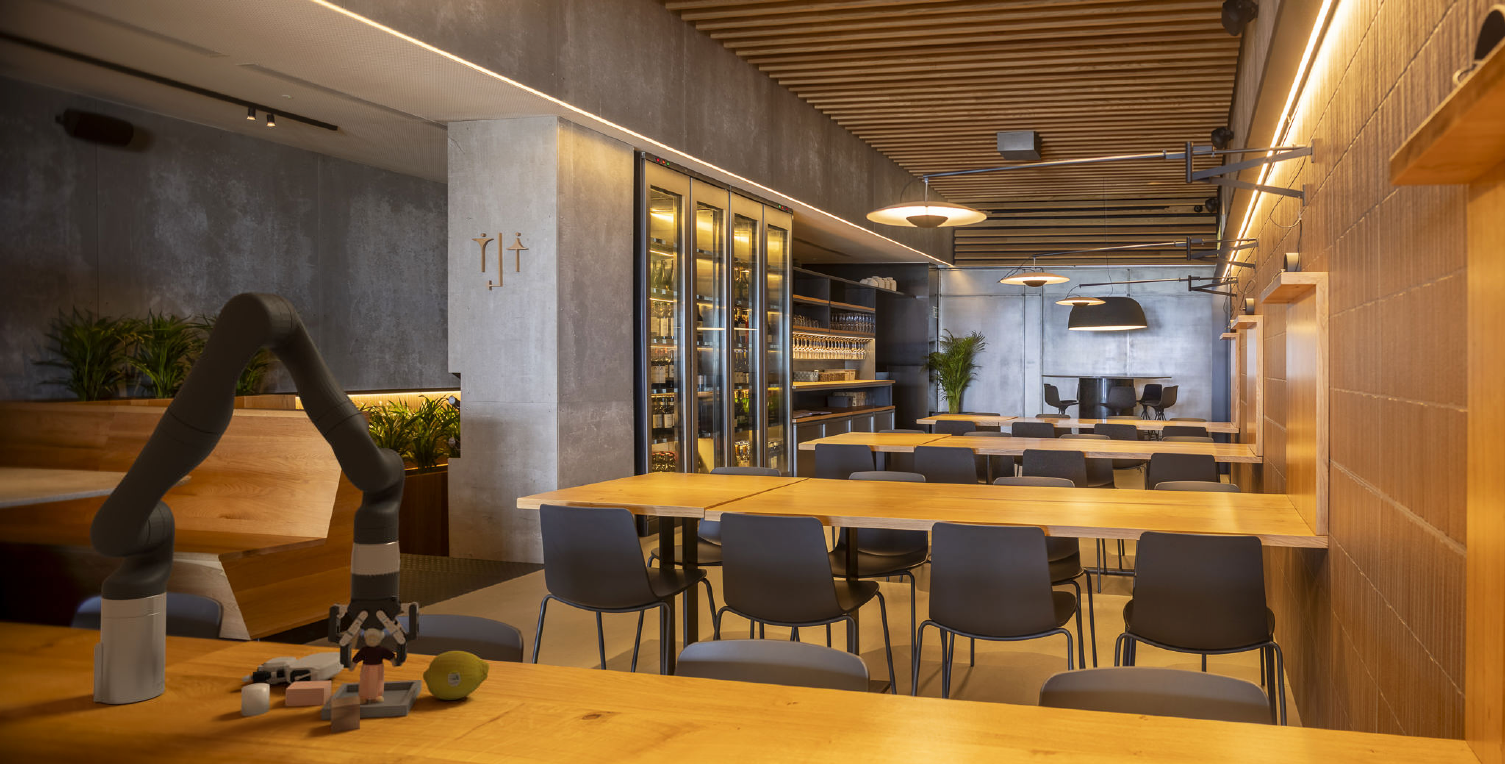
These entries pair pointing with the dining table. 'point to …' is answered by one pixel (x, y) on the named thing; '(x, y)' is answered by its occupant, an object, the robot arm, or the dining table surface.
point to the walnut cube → (345, 714)
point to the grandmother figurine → (372, 666)
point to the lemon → (455, 674)
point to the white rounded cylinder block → (255, 699)
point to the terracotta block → (308, 693)
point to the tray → (395, 702)
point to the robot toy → (297, 669)
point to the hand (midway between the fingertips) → (373, 666)
